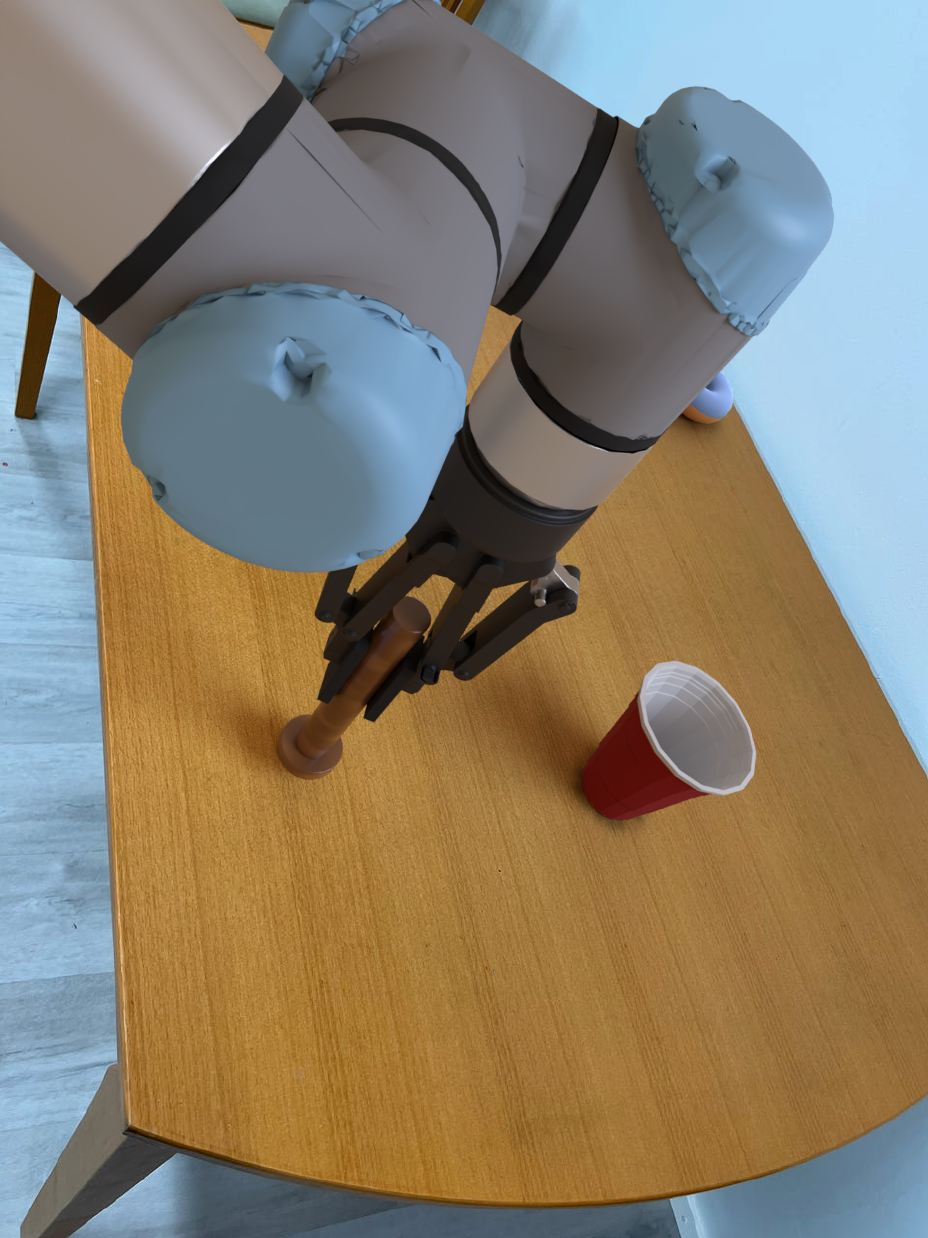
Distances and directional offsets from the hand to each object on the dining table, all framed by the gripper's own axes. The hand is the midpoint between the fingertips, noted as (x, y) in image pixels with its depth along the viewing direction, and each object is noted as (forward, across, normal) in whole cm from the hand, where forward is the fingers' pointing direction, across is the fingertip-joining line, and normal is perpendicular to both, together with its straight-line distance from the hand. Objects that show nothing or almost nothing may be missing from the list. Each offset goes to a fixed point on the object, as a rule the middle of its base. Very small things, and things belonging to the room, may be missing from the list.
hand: (351, 693), depth 61 cm
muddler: (+9, 0, 0) cm, 9 cm away
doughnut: (+10, -31, -64) cm, 72 cm away
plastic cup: (+10, -25, -8) cm, 29 cm away
